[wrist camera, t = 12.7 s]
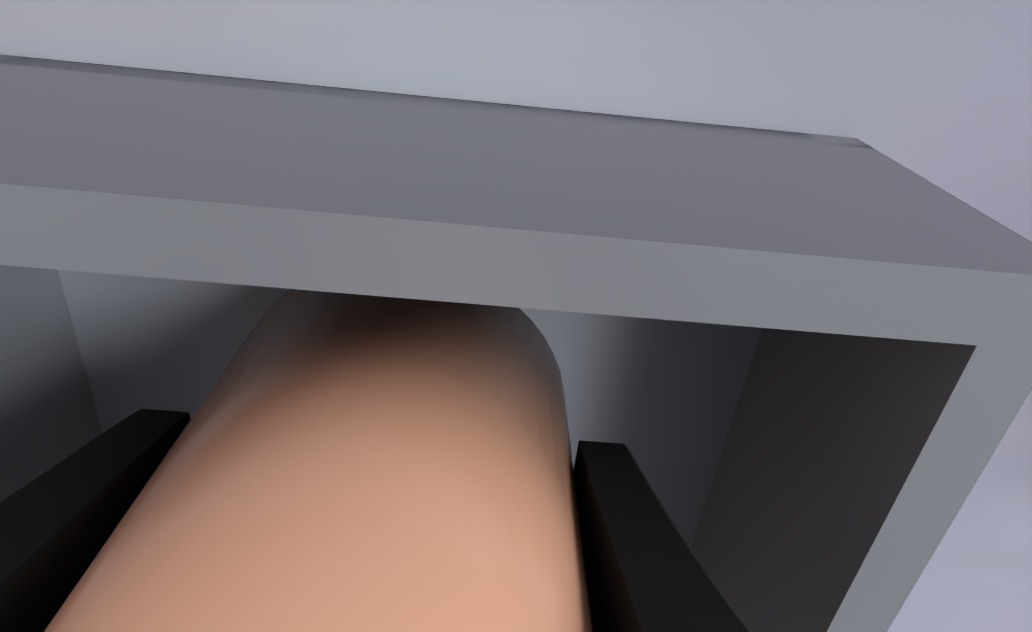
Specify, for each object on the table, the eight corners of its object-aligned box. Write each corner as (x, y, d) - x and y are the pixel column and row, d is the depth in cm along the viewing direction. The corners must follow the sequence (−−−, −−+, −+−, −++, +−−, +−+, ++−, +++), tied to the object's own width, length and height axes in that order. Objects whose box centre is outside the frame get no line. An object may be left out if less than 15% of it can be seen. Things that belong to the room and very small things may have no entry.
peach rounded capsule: (560, 522, 12) (617, 1174, 5) (272, 525, 11) (-1, 1180, 5) (569, 257, 9) (690, 887, 3) (206, 260, 9) (-431, 899, 3)
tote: (644, 740, 19) (682, 973, 15) (167, 716, 19) (62, 953, 14) (856, 138, 11) (1096, 280, 6) (-29, 51, 10) (-454, 143, 6)
